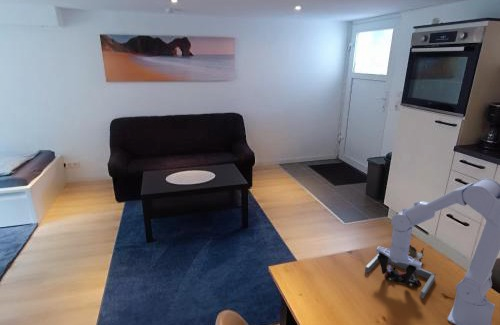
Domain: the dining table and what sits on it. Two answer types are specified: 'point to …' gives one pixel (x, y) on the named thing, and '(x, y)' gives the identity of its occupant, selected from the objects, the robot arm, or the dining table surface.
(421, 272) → the garage bay
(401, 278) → the toy car
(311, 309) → the dining table surface
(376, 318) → the dining table surface
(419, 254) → the eagle figurine
